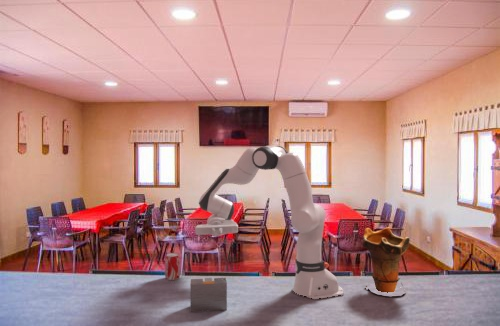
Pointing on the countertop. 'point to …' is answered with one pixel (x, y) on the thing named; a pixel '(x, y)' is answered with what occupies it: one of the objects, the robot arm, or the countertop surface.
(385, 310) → the countertop surface
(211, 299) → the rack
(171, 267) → the soda can
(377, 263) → the decorative vase
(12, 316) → the countertop surface
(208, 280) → the grey block
